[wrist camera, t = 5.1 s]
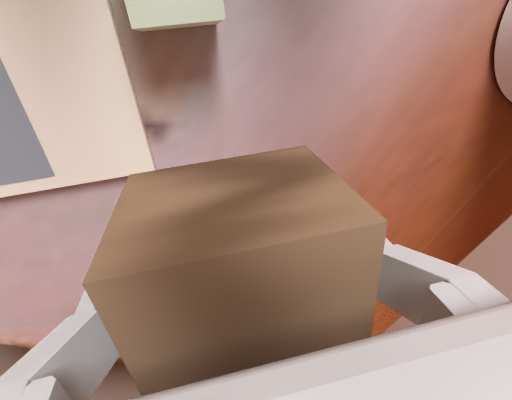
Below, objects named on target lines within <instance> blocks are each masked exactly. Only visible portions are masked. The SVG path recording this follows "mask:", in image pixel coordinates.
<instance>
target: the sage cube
mask: <svg viewBox="0 0 512 400" xmlns="http://www.w3.org/2000/svg"><path fill="white" fill-rule="evenodd" d="M124 2H125V6H126V9H127V13H128V17H129V21H130V25H131V29H133V30H137V31H141V32H144V31H154V30H164V29H174V28H183V27H193V26H203V25H213V24H218V23H220V22H222V21H224V20H226V17H225V9H224V1H223V0H124Z"/></svg>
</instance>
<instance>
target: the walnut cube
mask: <svg viewBox="0 0 512 400" xmlns="http://www.w3.org/2000/svg"><path fill="white" fill-rule="evenodd" d="M387 224H388V221H387V220H386V219H385V218H384V217H383V216H382V215H380V214H379V213H378V212H377V211H376V210H375V209H374V208H373V207H372V206H371V205H370V204H368V203H367V202H366V201H365V200H364V199H363V198H362V197H361V196H360V195H359V194H358V193H356V192H355V191H354V190H353V189H352V188H351V187H350V186H349V185H348V184H347V183H346V182H345V181H343V180H342V179H341V178H340V177H339V176H338V175H337V174H336V173H335V172H334V171H333V170H331V169H330V168H329V167H328V166H327V165H326V164H325V163H324V162H323V161H322V160H321V159H319V158H318V157H317V156H316V155H315V154H314V153H313V152H312V151H311V150H310V149H309V148H307V147H306V146H300V147H294V148H288V149H281V150H275V151H269V152H263V153H257V154H251V155H245V156H239V157H233V158H227V159H221V160H215V161H209V162H203V163H197V164H191V165H185V166H179V167H173V168H167V169H161V170H155V171H148V172H142V173H136V174H130V175H129V176H128V179H127V181H126V183H125V186H124V188H123V190H122V193H121V195H120V197H119V200H118V202H117V204H116V207H115V209H114V211H113V214H112V216H111V218H110V221H109V223H108V225H107V228H106V230H105V232H104V235H103V237H102V239H101V242H100V244H99V246H98V249H97V251H96V253H95V256H94V258H93V260H92V263H91V265H90V267H89V270H88V272H87V274H86V277H85V279H84V281H83V284H82V285H83V287H84V288H85V290H86V292H87V294H88V296H89V298H90V300H91V302H92V304H93V305H94V307H95V309H96V311H97V313H98V315H99V317H100V319H101V320H102V322H103V324H104V326H105V328H106V330H107V332H108V334H109V336H110V337H111V339H112V341H113V343H114V345H115V347H116V349H117V351H118V352H119V354H120V356H121V358H122V360H123V362H124V364H125V366H126V368H127V369H128V371H129V373H130V375H131V377H132V379H133V381H134V383H135V384H136V386H137V388H138V390H139V392H140V394H141V396H144V395H148V394H152V393H156V392H160V391H164V390H168V389H171V388H175V387H179V386H183V385H187V384H191V383H195V382H199V381H202V380H206V379H210V378H214V377H218V376H222V375H226V374H229V373H233V372H237V371H241V370H245V369H249V368H253V367H257V366H260V365H264V364H268V363H272V362H276V361H280V360H284V359H288V358H291V357H295V356H299V355H303V354H307V353H311V352H315V351H319V350H322V349H326V348H330V347H334V346H338V345H342V344H346V343H350V342H353V341H357V340H361V339H365V338H369V337H371V333H372V326H373V319H374V312H375V305H376V299H377V292H378V285H379V278H380V271H381V265H382V258H383V251H384V244H385V237H386V231H387Z"/></svg>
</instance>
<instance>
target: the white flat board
mask: <svg viewBox="0 0 512 400" xmlns="http://www.w3.org/2000/svg"><path fill="white" fill-rule="evenodd" d="M155 170H156V166H155V162H154V159H153V155H152V151H151V148H150V144H149V141H148V137H147V134H146V130H145V127H144V123H143V119H142V116H141V112H140V109H139V105H138V102H137V98H136V94H135V91H134V87H133V84H132V80H131V77H130V73H129V70H128V66H127V62H126V59H125V55H124V52H123V48H122V45H121V41H120V37H119V34H118V30H117V27H116V23H115V20H114V16H113V13H112V9H111V5H110V2H109V0H0V198H1V197H7V196H13V195H19V194H25V193H30V192H36V191H42V190H48V189H54V188H60V187H66V186H71V185H77V184H83V183H89V182H95V181H101V180H106V179H112V178H118V177H124V176H129V175H130V174H136V173H142V172H148V171H155Z"/></svg>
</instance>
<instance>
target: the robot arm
mask: <svg viewBox="0 0 512 400" xmlns="http://www.w3.org/2000/svg"><path fill="white" fill-rule="evenodd" d="M494 67H495V75H496V79H497V83H498V85H499V88H500V89H501V91H502V93H503V94H504V95H505V97H506V98H507V99H509V100H510V101H511V102H512V0H509V2H508V5H507V7H506V9H505V12H504V14H503V17H502V20H501V23H500V27H499V30H498V34H497V39H496V45H495V54H494ZM377 300H379V301H380V302H382V303H384V304H385V305H387V306H388V307H390V308H391V309H393V310H395V311H396V312H398V313H399V314H401V315H402V316H404V317H406V318H407V319H409V320H410V321H412V322H413V323H415V324H417V325H415V326H412V327H408V328H404V329H400V330H396V331H392V332H388V333H384V334H380V335H377V336H373V337H369V338H365V339H361V340H357V341H353V342H350V343H346V344H342V345H338V346H334V347H330V348H326V349H322V350H319V351H315V352H311V353H307V354H303V355H299V356H295V357H291V358H288V359H284V360H280V361H276V362H272V363H268V364H264V365H260V366H257V367H253V368H249V369H245V370H241V371H237V372H233V373H229V374H226V375H222V376H218V377H214V378H210V379H206V380H202V381H199V382H195V383H191V384H187V385H183V386H179V387H175V388H171V389H168V390H164V391H160V392H156V393H152V394H148V395H144V396H141V397H137V398H133V399H129V400H512V301H510V300H509V299H508V298H506V297H505V296H504V295H503V294H502V293H500V292H499V291H498V290H497V289H495V288H494V287H493V286H492V285H491V284H489V283H488V282H487V281H486V280H484V279H483V278H482V277H481V276H480V275H478V274H477V273H475V272H473V271H470V270H467V269H464V268H462V267H459V266H456V265H454V264H451V263H448V262H445V261H442V260H440V259H437V258H434V257H431V256H429V255H426V254H423V253H420V252H418V251H415V250H412V249H409V248H406V247H404V246H401V245H398V244H396V245H393V244H392V243H391V242H390V241H389V240H388V239H387V238H386V237H385V244H384V251H383V258H382V265H381V271H380V278H379V285H378V292H377ZM119 356H120V354H119V352H118V351H117V349H116V347H115V345H114V343H113V341H112V339H111V337H110V336H109V334H108V332H107V330H106V328H105V326H104V324H103V322H102V320H101V319H100V317H99V315H98V313H97V311H96V309H95V307H94V305H93V304H92V302H91V300H90V298H89V296H88V294H87V292H86V290H84V292H83V295H82V297H81V299H80V302H79V304H78V307H77V309H76V312H75V314H74V315H71V316H68V317H67V318H66V319H65V320H64V321H63V322H62V323H60V324H59V325H58V326H57V327H56V328H55V329H54V330H53V331H51V332H50V333H49V334H48V335H47V336H46V337H45V338H44V339H42V340H41V341H40V342H39V343H38V344H37V345H36V346H35V347H33V348H32V349H31V350H30V351H29V352H28V353H27V354H26V355H24V356H23V357H22V358H21V359H20V360H19V361H18V362H17V363H15V364H14V365H13V366H12V367H11V368H10V369H9V370H8V371H6V372H5V373H4V374H3V375H2V376H1V377H0V400H90V398H91V397H92V395H93V394H94V392H95V391H96V389H97V388H98V387H99V385H100V384H101V382H102V380H103V379H104V378H105V376H106V375H107V373H108V372H109V371H110V369H111V368H112V366H113V365H114V363H115V362H116V360H117V359H118V358H119Z"/></svg>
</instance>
